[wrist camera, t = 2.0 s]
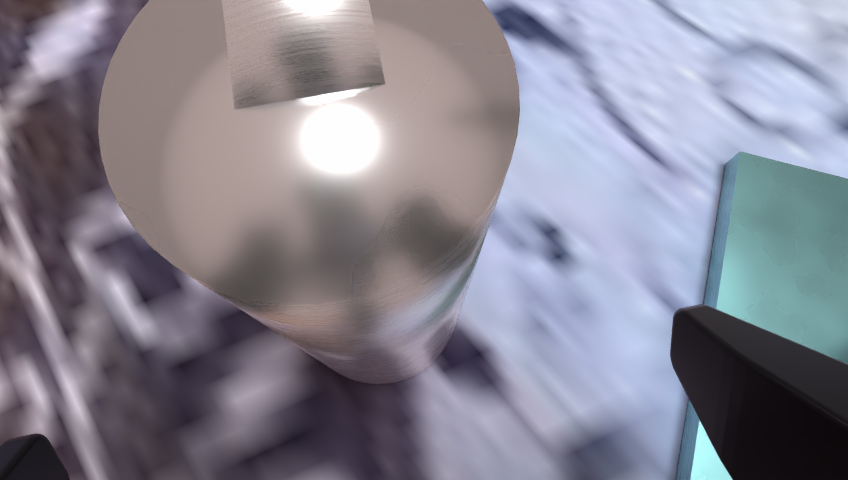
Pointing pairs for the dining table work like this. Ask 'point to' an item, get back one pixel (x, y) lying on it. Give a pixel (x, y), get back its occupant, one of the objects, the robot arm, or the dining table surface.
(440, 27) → the metal bottle
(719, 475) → the duct collar
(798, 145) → the dining table surface
